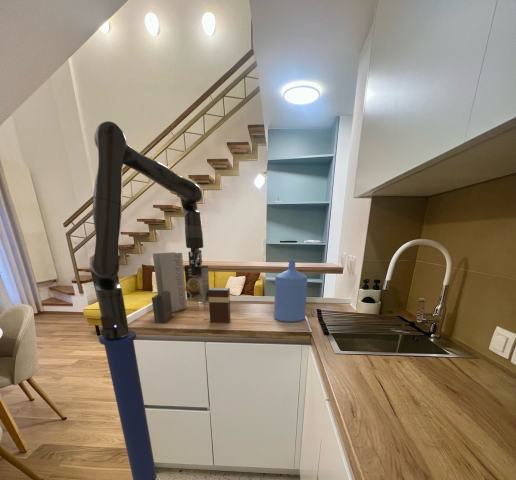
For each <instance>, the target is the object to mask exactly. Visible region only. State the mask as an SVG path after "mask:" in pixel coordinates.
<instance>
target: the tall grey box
mask: <svg viewBox="0 0 516 480" xmlns="http://www.w3.org/2000/svg"><path fill="white" fill-rule="evenodd" d="M152 259H153V268H154V276H155V282H156V283H155V284H156V291H157V295H158V294H159V293H163V292H164V291H170V297H171V306H172V313H174V312H179V311H181V310H186V309H187V308H188V304H187V292H186V280H185V269H184V260H183V253H182V252H158V253H157V252H156V253H155V252H154V253H152Z"/></svg>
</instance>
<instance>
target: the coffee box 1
mask: <svg viewBox="0 0 516 480" xmlns="http://www.w3.org/2000/svg"><path fill="white" fill-rule="evenodd" d="M183 268H184V281H185V293H186V302H187V301H189V302H196V303H206V302H209V292H208V290H209V289H210V280H209V278H210V277H209V276H210V275H209V265H202V264H201V265H197V276H192V270H191V266H189V264H186V265H185V264H184V265H183Z"/></svg>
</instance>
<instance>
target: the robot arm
mask: <svg viewBox="0 0 516 480" xmlns="http://www.w3.org/2000/svg"><path fill="white" fill-rule="evenodd" d="M93 139H94V144H95V145H94V146H95V147H96V149H97V155H98V156H97V159H98V162H97V163H98V165H97V172H96V176H95V181H94V187H93V193H92V218H93V226H94V232H95V244H94V245H95V246H94V253H93V255H92V256H91V257H90V259H89V269H90V273H91V279H92V282H93V288H94V290H95V293H96V299H97V302H98V308H99V312H100V317H99V318H100V322H101V323H100V324H101V327H102V329H101V335H102V336H103V337H105V339H107V340H109V339H121V338H124V337H127V336H129V335H130V332H129V330H130V327H129V323H128V316H127V311H126V306H125V300H124V299H125V298H124V293H123V288H122V286H121V283H120V279H119V271H120V255H119V252H120V251H119V240H120V233H121V226H122V225H121V224H122V214H123V167H124V166H127V167H128V168H131V169H132V170H134V171H136V172H138V173H139V174H142V176H144V177H146V178H148V179H150V180H151V181H152V182H154V183H156V184H158V185H159V186H161V187H162V188H164V189H165V190H167V191H169V192H171V193H175V194H178V195H179V196H180V203H181V206H182V211H183V217H184V237H185V247H186V248H187V249H190V251H188V253H187V254H188V265H189V266H191V270H192V276H197V265H202V263H203V255H202V250H201V249H203V248H204V236H203V235H204V233H203V232H204V231H203V226H202V215H201V212H200V210H199V209H198V203H199V202H200V201H202V198H203V191H202V189H201V188H200V186H199V185H197V184H196V183H194V182H193V181H191V180H189V179H187V178H185V177H183V176H181V175H179V174H178V173H176V171H175V172H174V170H172V169H171V168H169V167H168V166H166V165H164V164H162V163H161V162H159V161H157V160H155V159H153V158H152V157H151V158H150V157H148V156H146V155H144V154H142V153H140V152H139V151H138V150H135V149H134V148H133V147H132V146H130V145H129V144H127V138H126V135H125V133H124V131H123V129H122V128H121V127H120V126H119V125H118V124H116V123H115V122H114V121H110V120H105V121H103V122H101V123H100V124H99V125H97V127H96V129H95V133H94V137H93Z"/></svg>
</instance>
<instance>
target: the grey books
mask: <svg viewBox="0 0 516 480" xmlns="http://www.w3.org/2000/svg"><path fill="white" fill-rule="evenodd" d="M151 302H152V311H153V317H154V319H153V320H154V323H155V324H159V323H160V324H166V323H167V322H168V321H169V320H170V319H171V318H173V312H172V306H171V297H170V291H164V292H163V293H159V294H158V293H157V294H156V295H154V296H152V297H151Z"/></svg>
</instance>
